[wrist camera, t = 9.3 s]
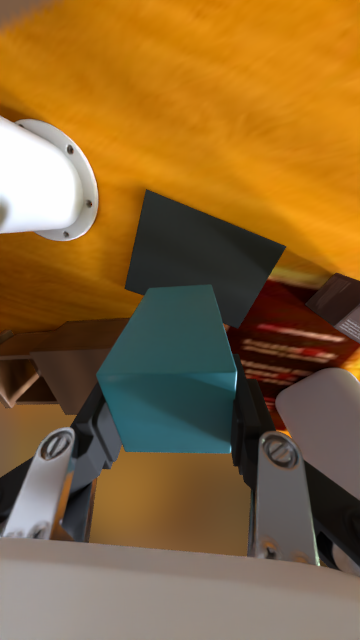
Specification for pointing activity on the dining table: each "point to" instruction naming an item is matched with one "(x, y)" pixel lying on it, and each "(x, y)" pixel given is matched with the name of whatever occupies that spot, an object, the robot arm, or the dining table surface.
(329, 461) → the plastic bottle
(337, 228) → the dining table surface
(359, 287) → the box
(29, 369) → the drawer
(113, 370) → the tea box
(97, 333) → the cabinet
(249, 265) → the mat
